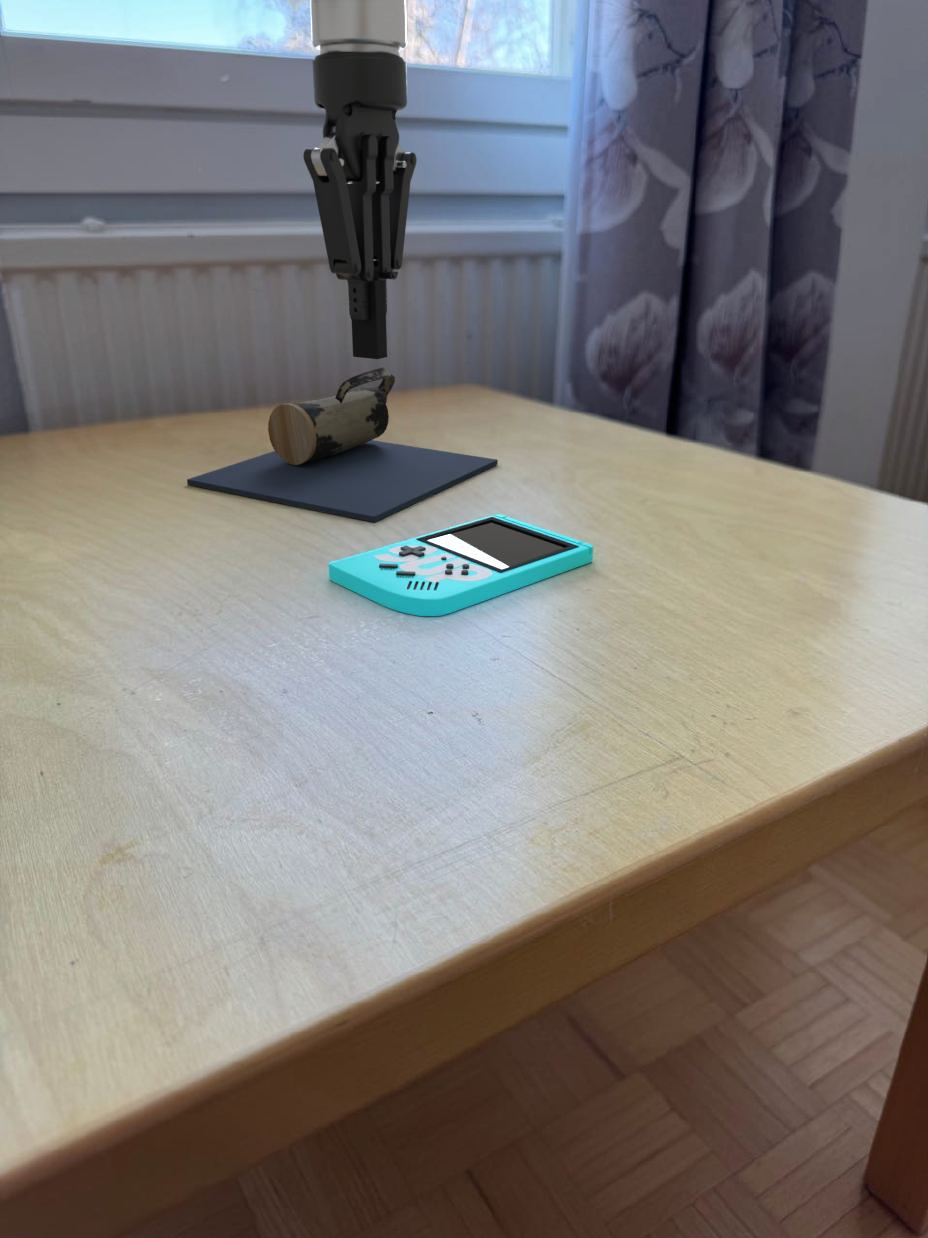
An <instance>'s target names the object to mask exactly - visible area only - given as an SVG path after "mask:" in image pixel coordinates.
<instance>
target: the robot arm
mask: <svg viewBox="0 0 928 1238" xmlns="http://www.w3.org/2000/svg"><path fill="white" fill-rule="evenodd" d="M406 1H407V0H309V3H310V24H311V25H310V29H311V45H312V46H313V47H314V48H315V49H316V50H319V54H318V55H315V56H314V59H313V60H312V80H313V99H314V104H315V106H316V107H317V108H318V109H320V110H324V111H325V116H324V123H323V126H322V137H323V139H322V141H321V142H319V144H318V145H317V147H314V148H306V149H304V151H303V157H302V158H303V161H304V164H305V166H306V168H307V171H308V173H309V175H310V178H311V180H312V183H313V188H314V193H315V198H316V204H317V209H318V214H319V219H320V225H321V229H322V234H323V240H324V245H325V250H326V256H327V260H328V266H329V269H330V272H331V274H335V276H336V278H337V279H338V280H342V281H347V288H348V289H347V291H348V311H349V312H348V313H349V317H350V320H351V340H352V342H351V343H352V344H351V345H352V357H353V358H360V359H361V358H362V359H370V360H371V359H372V360H380V359H385V358H388V337H387V334H388V333H387V314H388V293H387V291H388V288H387V287H388V286H387V280H396V279H397V278H398V275H399V270H400V269H402V266H403V257H404V247H405V238H406V229H407V219H408V211H409V210H408V209H409V201H410V200H409V199H410V191H411V190H410V189H411V181H412V179H413V175H414V172H415V169H416V166H417V161H418V160H417V155H416V153H415V152H405V150H404V149H403V148H402V146H401V145H400V131H399V129H398V125H397V120H396V119H397V118H396V115H397V113H398V111H402V110H404V109H405V108H407V105H408V69H407V67H408V64H407V61H405V58H404V57H402V56H401V55H400V52H402V51H404V50H405V49H406V47H407V46H408V34H407V33H408V31H407V30H408V29H407V2H406ZM395 270H396V271H395Z"/></svg>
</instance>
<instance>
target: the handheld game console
mask: <svg viewBox="0 0 928 1238" xmlns="http://www.w3.org/2000/svg"><path fill="white" fill-rule="evenodd" d="M593 560H594V546H593V544H590V543H588V542H585V541H583V540H579V539H576V538H574V537H570V536H567V535H564V534H561V533H557V532H555V531H552V530H549V529H547V528H543V527H539V526H537V525H535V524H531V523H528V522H524V521H522V520H519V519H516V518H512V517H510V516H507V515H504V514H500V513H499V514H498V513H497V514H496V513H495V514H493V515H489V516H485V517H482V518H478V519H474V520H471V521H468V522H464V523H460V524H457V525H453V526H451V527H447V528H443V529H440V530H436V531H433V532H429V533H426V534H423V535H418V536H415V537H412V538H409V539H405V540H402V541H399V542H395V543H391V544H388V545H384V546H381V547H378V548H374V549H371V550H366V551H363V552H361V553H357V554H354V555H350V556H347V557H342V558H339V559H336V560H332V561H329V562H328V578H329V581H331V582H333V583H335V584H337V585H339V586H342V587H343V588H346V589H348V590H350V591H352V592H354V593H356V594H358V595H360V596H362V597H364V598H366V599H369V600H371V601H372V602H374V603H376V604H379V605H380V606H383V607H385V608H387V609H391V610H393V611H397V612H399V613H403V614H408V615H413V616H417V617H418V616H419V617H440V616H445V615H450V614H451V613H454V612H458V611H461V610H462V609H466V608H469V607H471V606H474V605H477V604H479V603H483V602H485V601H488V600H490V599H494V598H496V597H498V596H503V595H504V594H507V593H510V592H513V591H516V590H518V589H521V588H525V587H526V586H529V585H532V584H535V583H537V582H540V581H543V580H546V579H549V578H551V577H554V576H557V575H559V574H562V573H565V572H568V571H570V570H573V569H576V568H579V567H582V566H585V565H587V564H590V563H592V562H593Z"/></svg>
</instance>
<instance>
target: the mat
mask: <svg viewBox="0 0 928 1238" xmlns="http://www.w3.org/2000/svg"><path fill="white" fill-rule="evenodd" d="M498 461H499V460H498V459H495V458H489V457H483V456H477V455H471V454H465V453H464V454H463V453H458V452H451V451H445V450H438V449H431V448H425V447H418V446H412V445H407V444H400V443H399V444H398V443H392V442H385V441H380V440H375V439H373V440H371V441H368V442H366V443H364V444H361V445H359V446H356V447H353V448H351V449H348V450H346V451H343V452H340V453H337V454H334V455H331V456H327V457H324V458H321V459H318V460H314V461H310V462H305V463H302V464H299V465H292V464H289V463H287V462H285V461H284V460H282V459H281V458H280V457H279V456H278V454H277V453H276V452H275V450H273V451H270V452H266V453H264V454H261V455H258V456H255V457H252V458H249V459H246V460H243V461H240V462H236V463H233V464H230V465H227V466H224V467H221V468H218V469H215V470H211V471H208V472H206V473H202V474H200V475H196V476H193V477H189V478H187V479H186V484H187V485H188V486H192V487H198V488H201V489H208V490H212V491H217V492H222V493H228V494H232V495H237V496H242V497H246V498H252V499H257V500H261V501H267V502H270V503H271V502H272V503H277V504H281V505H286V506H292V507H296V508H301V509H306V510H311V511H316V512H321V513H325V514H330V515H336V516H341V517H345V518H349V519H350V518H351V519H354V520H355V519H356V520H360V521H366V522H369V523H376V522H378V521H379V522H380V521H381V520H383V519H385V518H387V517H389V516H391V515H394V514H396V513H398V512H400V511H402V510H404V509H406V508H408V507H411V506H413V505H415V504H417V503H419V502H421V501H423V500H425V499H428V498H430V497H431V496H434V495H436V494H438V493H440V492H442V491H445V490H446V489H449V488H451V487H453V486H455V485H457V484H459V483H462V482H464V481H466V480H468V479H470V478H472V477H474V476H476V475H478V474H480V473H482V472H485V471H487V470H489V469H491V468H493V467H495V466H498V463H499V462H498Z"/></svg>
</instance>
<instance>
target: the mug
mask: <svg viewBox="0 0 928 1238" xmlns="http://www.w3.org/2000/svg"><path fill="white" fill-rule="evenodd" d="M378 380H379V381H380V380H381V382H380V384H379V385H378V386H376V387H374V386H373V387H361V388H359V389H355V390H353V391H350V390H352V389H354V388H357V387H359V386H362V385H365V384H369V383H371V382H375V381H378ZM395 382H396V376H394V375H393V374H391V373H390V372H389V371H388V370H387V369H386V368H385V367H380V368H376V369H372V370H369V371H365V372H362V373H360V374H357V375H355V376H352V377H350V378H348V379H346V380H344V381H343V382H342V383H341V384H340V386H339V388H338V389H337V392H336V395H333V396H329V397H324V398H319V399H313V400H307V401H301V402H289V403H282V404H279V405H277V406H275V408H274V409H273V410H272V411H271V413H270V415H269V420H268V423H267V430H268V437H269V438H268V439H269V441H270V444H271V446H272V448H273V451H275V452H276V453H277V454H278V456H279V457H280V458H281V459H282V460H284V461H285V462H287V463H289V464H292V465H299V464H302V463H305V462H310V461H314V460H318V459H321V458H324V457H327V456H331V455H334V454H337V453H340V452H343V451H346V450H348V449H351V448H353V447H356V446H359V445H361V444H364V443H366V442H368V441H371V440H375V439H378V438H379V437H381V436H383V434H384V433H386V430H387V428H388V425H389V418H390V415H389V409H388V405H387V401H388V395H389V394H390V392H391V391H392V389H393V387H394V385H395Z"/></svg>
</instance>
